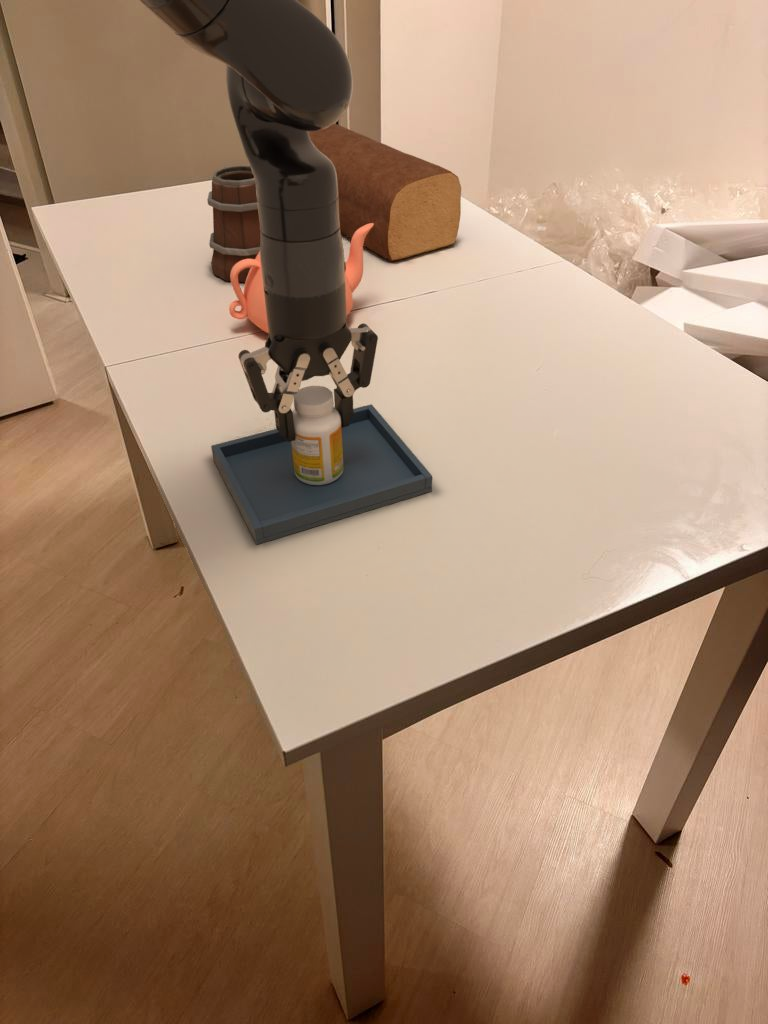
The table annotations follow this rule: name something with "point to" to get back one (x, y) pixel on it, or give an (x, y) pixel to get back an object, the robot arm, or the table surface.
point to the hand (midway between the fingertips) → (315, 429)
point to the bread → (391, 194)
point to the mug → (234, 220)
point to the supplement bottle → (317, 437)
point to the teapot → (254, 289)
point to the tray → (299, 506)
